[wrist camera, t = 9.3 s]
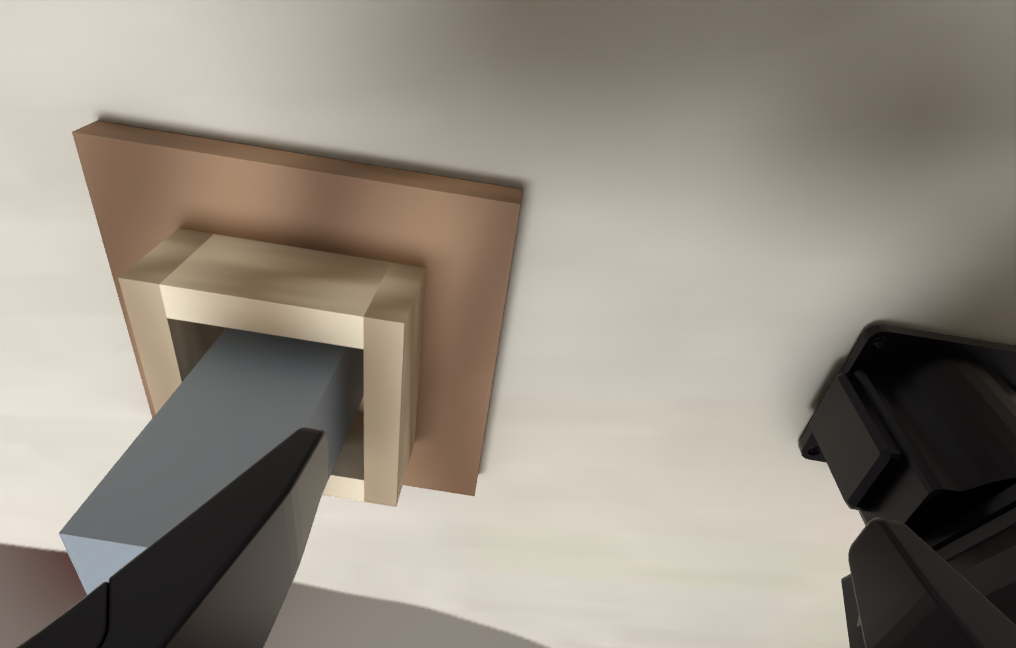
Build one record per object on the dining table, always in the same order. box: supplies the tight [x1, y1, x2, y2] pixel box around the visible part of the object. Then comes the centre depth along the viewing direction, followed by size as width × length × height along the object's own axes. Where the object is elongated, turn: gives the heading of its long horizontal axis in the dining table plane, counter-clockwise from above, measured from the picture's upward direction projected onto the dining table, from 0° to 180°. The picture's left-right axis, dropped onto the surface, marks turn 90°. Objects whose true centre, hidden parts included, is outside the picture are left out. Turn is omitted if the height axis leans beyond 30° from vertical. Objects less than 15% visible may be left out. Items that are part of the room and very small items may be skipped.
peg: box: [59, 328, 364, 595], centre depth 19 cm, size 4×4×10 cm
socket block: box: [72, 121, 523, 507], centre depth 22 cm, size 14×14×4 cm
